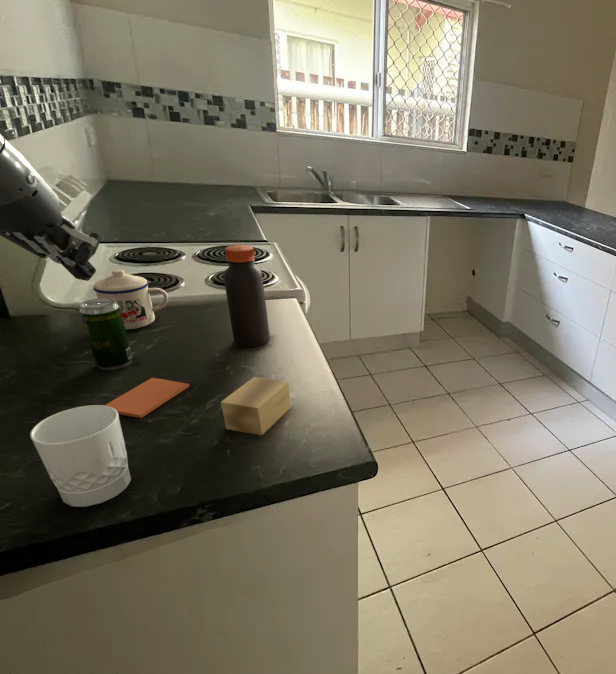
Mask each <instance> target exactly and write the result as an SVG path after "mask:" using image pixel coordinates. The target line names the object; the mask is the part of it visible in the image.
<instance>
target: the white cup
mask: <svg viewBox="0 0 616 674" xmlns="http://www.w3.org/2000/svg"><path fill="white" fill-rule="evenodd" d="M122 429H123V428H122V424H121V421H120V416H119V414H118V412H117V411H116V410H115V409H114V408H112V407H109V406H104V405H102V404H92V405H83V406H77V407H72V408H69V409H65V410H62V411H60V412H56V413H54V414H51V415H50V416H47V417H46V418H44V419H42V420H41V421H39V422H38V423H37V424H35V426H33V428H32V429H31V431H30V433H29V437H30V439H31V442H32V443H33V445H34V448H35V450H36V452H37V454H38V456H39V458H40V460H41V462H42V464H43V466H44V469H45V470H46V472H47V474H48V475H49V478H50V480H51V482H52V484H54V486H55V487H56V489H57V491H58V493H59V496H60V498H61V500H62V502H63V503H64V504H66V505H68V506H70V507H73V508H74V507H75V508H86V507H92V506H95V505H99V504H102V503H105V502H107V501H109V500H111V499H113V498H115V497H117V496H119V494H121V493H122V492H124V491H125V490H126V489H127V488H128V486H129V484H130V483H131V481H132V477H131V474H130V470H129V469H130V468H129V463H128V462H129V458H128V453H127V448H126V442H125V439H124V435H123V434H124V433H123V430H122Z"/></svg>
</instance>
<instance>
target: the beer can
mask: <svg viewBox="0 0 616 674" xmlns="http://www.w3.org/2000/svg"><path fill="white" fill-rule="evenodd" d="M79 314H80V318H81V322H82V324H83V327H84V330H85V334H86V337H87V341H88V344H89V348H90V350H91V353H92V357H93V361H94V363H95V366H96V367H97V368H98V369H100V370H101V371H115V370H116V371H117V370H120V369H123V368H126V367H128V366H130V365H131V364H132V362H133V359H134V357H133V353H132V350H131V345H130V342H129V339H128V335H127V330H125V327H124V323H123V319H122V315H121V312H120V308H119V305H118V304H117V303H116V300H115V299H111V298H92V299H87V300H85V301H82V302H81V303H79Z"/></svg>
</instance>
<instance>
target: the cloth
mask: <svg viewBox="0 0 616 674" xmlns="http://www.w3.org/2000/svg"><path fill="white" fill-rule="evenodd" d="M189 387H190V384H189V383H186V382H180V381H174V380H169V379H163V378H156V377H151V378H149V379H147V380H146V381H144V382H142V383H140V384H139V385H137V386H135V387H134V388H132V389H130V390H129V391H126V392H125V393H123V394H121V395H120V396H118V397H116V398H115V399H112V400H111V401H109V402H107V403H106V404H104V405H103V406H109V407H112V408H114V409H115V410H116V411H117V412H118V415H120V416H125V417H126V416H127V417H132V418H138V419H142V418H145V417H146V416H147V415H148V414H150V413H151V412H153V411H154V410H156V409H158V408H159V407H160V406H162V405H163V404H165V403H167V402H168V401H170V400H171V399H173V398H174V397H176V396H177V395H179V394H180V393H182V392H184V391H185V390H186V389H188V388H189Z"/></svg>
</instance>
